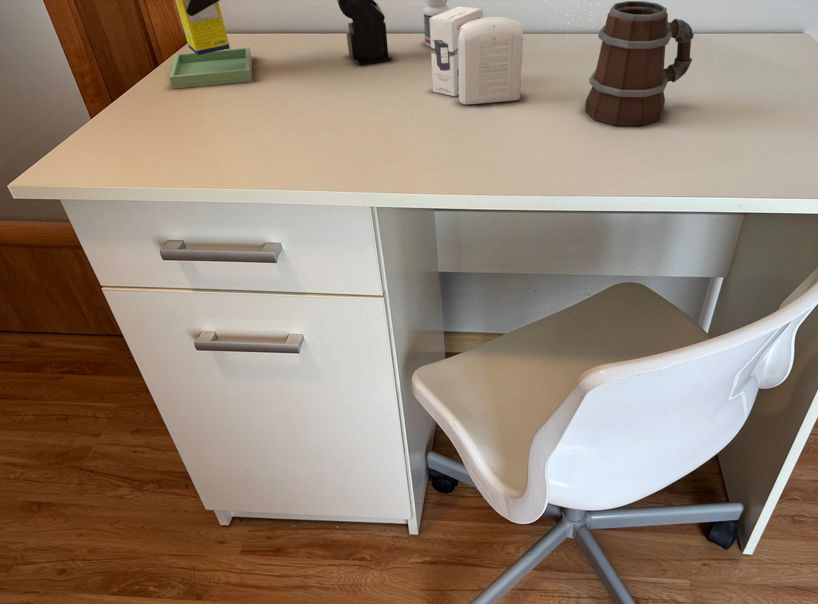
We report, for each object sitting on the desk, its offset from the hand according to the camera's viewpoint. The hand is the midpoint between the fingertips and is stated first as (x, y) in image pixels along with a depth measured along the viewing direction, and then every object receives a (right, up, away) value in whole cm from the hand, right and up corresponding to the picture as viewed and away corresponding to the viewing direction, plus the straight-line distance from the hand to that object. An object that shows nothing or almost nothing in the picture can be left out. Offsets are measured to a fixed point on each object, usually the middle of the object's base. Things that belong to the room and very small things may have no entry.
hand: (190, 8), depth 115 cm
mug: (+74, -21, -10) cm, 78 cm away
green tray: (+1, -8, +7) cm, 11 cm away
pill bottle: (+42, +2, +18) cm, 46 cm away
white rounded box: (+51, -18, -5) cm, 55 cm away
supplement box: (+1, -5, +5) cm, 7 cm away
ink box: (+46, -14, 0) cm, 48 cm away
